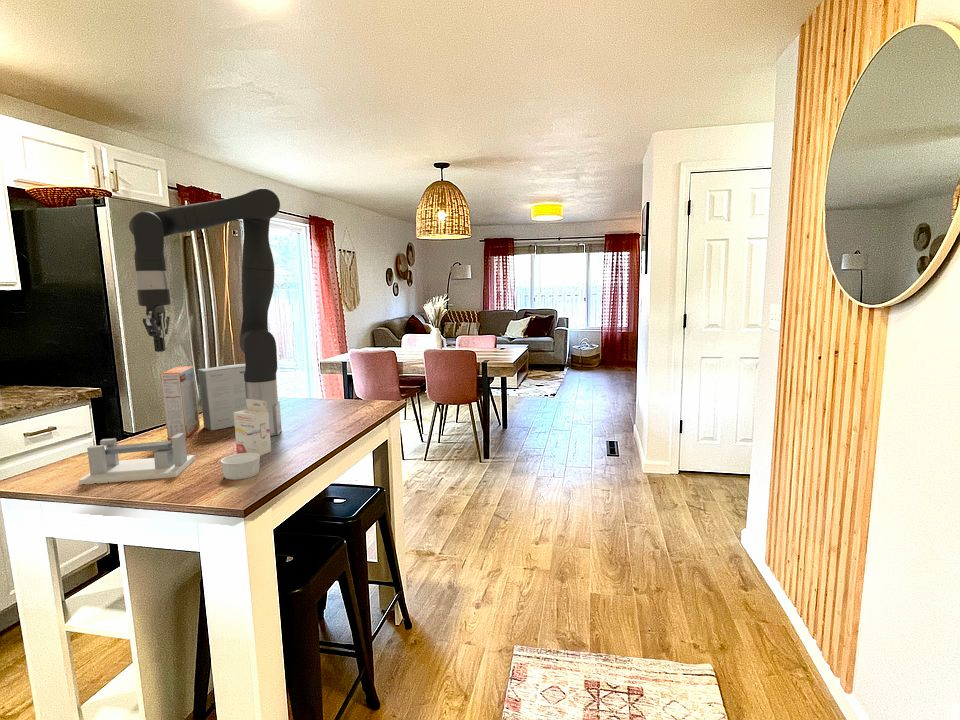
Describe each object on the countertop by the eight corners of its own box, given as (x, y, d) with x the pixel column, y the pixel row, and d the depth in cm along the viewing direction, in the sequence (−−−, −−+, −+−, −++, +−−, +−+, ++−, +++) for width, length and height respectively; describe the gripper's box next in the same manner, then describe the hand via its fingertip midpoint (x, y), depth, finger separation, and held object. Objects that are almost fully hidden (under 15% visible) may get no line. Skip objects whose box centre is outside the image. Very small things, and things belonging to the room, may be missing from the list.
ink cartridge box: (235, 453, 146) (231, 401, 144) (250, 448, 150) (246, 398, 148) (258, 457, 142) (253, 404, 140) (272, 451, 147) (268, 400, 145)
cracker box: (180, 428, 174) (174, 366, 171) (200, 427, 176) (194, 365, 173) (166, 440, 161) (159, 372, 158) (187, 438, 162) (181, 371, 159)
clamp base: (195, 459, 141) (192, 428, 140) (176, 477, 128) (172, 442, 127) (108, 465, 137) (104, 433, 136) (79, 484, 124) (74, 449, 123)
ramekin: (235, 468, 134) (233, 451, 133) (268, 468, 133) (267, 452, 132) (214, 480, 125) (212, 463, 124) (249, 481, 124) (247, 464, 123)
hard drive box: (250, 418, 186) (245, 363, 184) (258, 422, 181) (253, 365, 178) (202, 427, 176) (197, 368, 173) (209, 431, 170) (203, 370, 168)
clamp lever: (174, 446, 135) (173, 438, 135) (168, 450, 132) (167, 442, 131) (102, 453, 132) (101, 444, 132) (94, 457, 128) (93, 449, 128)
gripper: (159, 287, 137) (166, 353, 139) (176, 287, 150) (183, 348, 152) (127, 288, 135) (135, 355, 138) (147, 288, 148) (154, 349, 151)
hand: (160, 351), depth 145 cm, fingers closed
